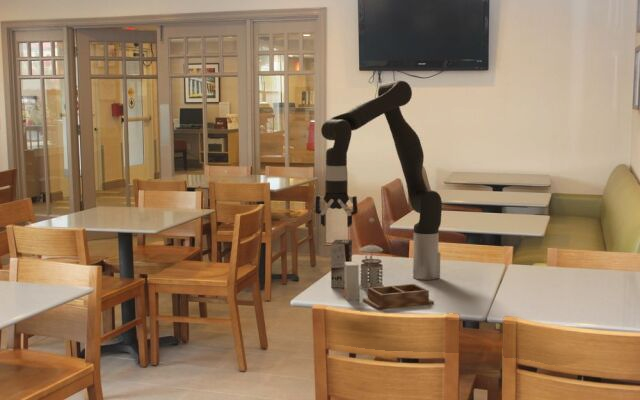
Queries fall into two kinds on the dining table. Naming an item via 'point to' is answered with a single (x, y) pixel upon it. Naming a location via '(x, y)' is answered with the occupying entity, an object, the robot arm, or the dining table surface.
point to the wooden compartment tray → (397, 296)
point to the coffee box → (340, 261)
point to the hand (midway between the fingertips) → (336, 226)
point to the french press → (371, 268)
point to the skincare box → (351, 280)
